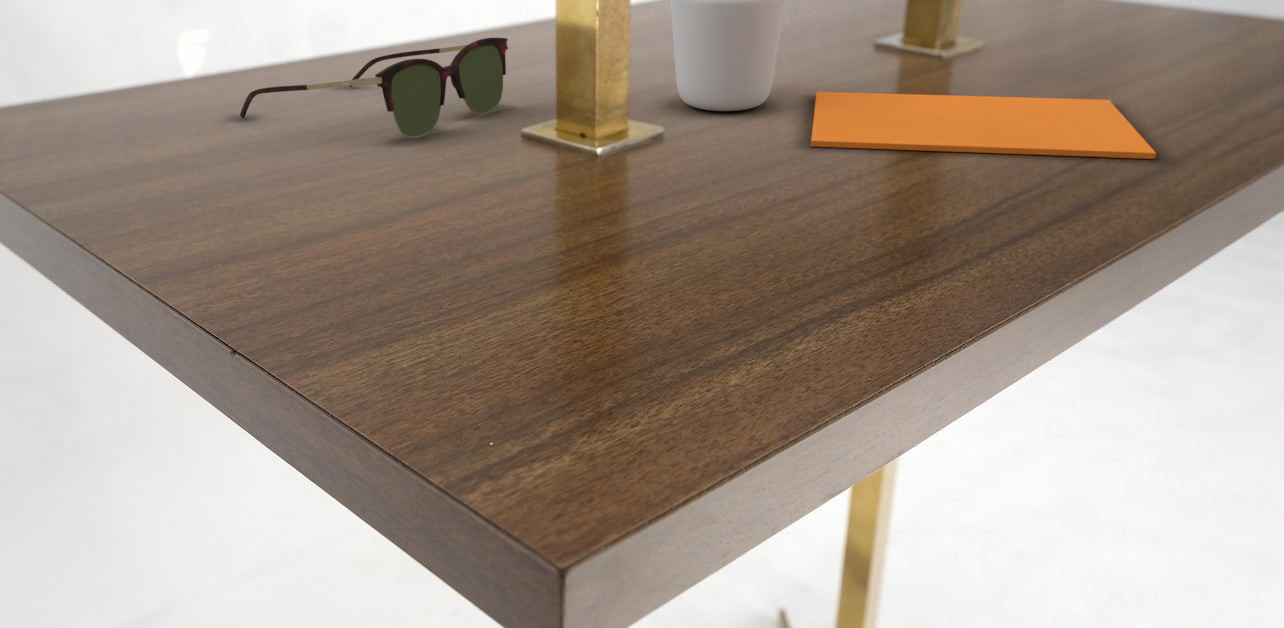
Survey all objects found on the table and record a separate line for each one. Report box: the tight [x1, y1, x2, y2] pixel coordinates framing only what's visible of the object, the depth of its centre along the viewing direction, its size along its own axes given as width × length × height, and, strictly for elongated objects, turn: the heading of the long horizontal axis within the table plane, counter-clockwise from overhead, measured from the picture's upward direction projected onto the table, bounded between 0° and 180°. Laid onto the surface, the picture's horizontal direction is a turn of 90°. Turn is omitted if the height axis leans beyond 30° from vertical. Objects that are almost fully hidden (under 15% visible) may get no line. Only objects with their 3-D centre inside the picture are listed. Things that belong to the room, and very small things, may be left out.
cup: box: [669, 0, 787, 112], centre depth 83 cm, size 11×8×8 cm
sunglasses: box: [239, 37, 509, 138], centre depth 83 cm, size 14×15×5 cm
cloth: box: [810, 91, 1157, 160], centre depth 77 cm, size 20×14×1 cm
